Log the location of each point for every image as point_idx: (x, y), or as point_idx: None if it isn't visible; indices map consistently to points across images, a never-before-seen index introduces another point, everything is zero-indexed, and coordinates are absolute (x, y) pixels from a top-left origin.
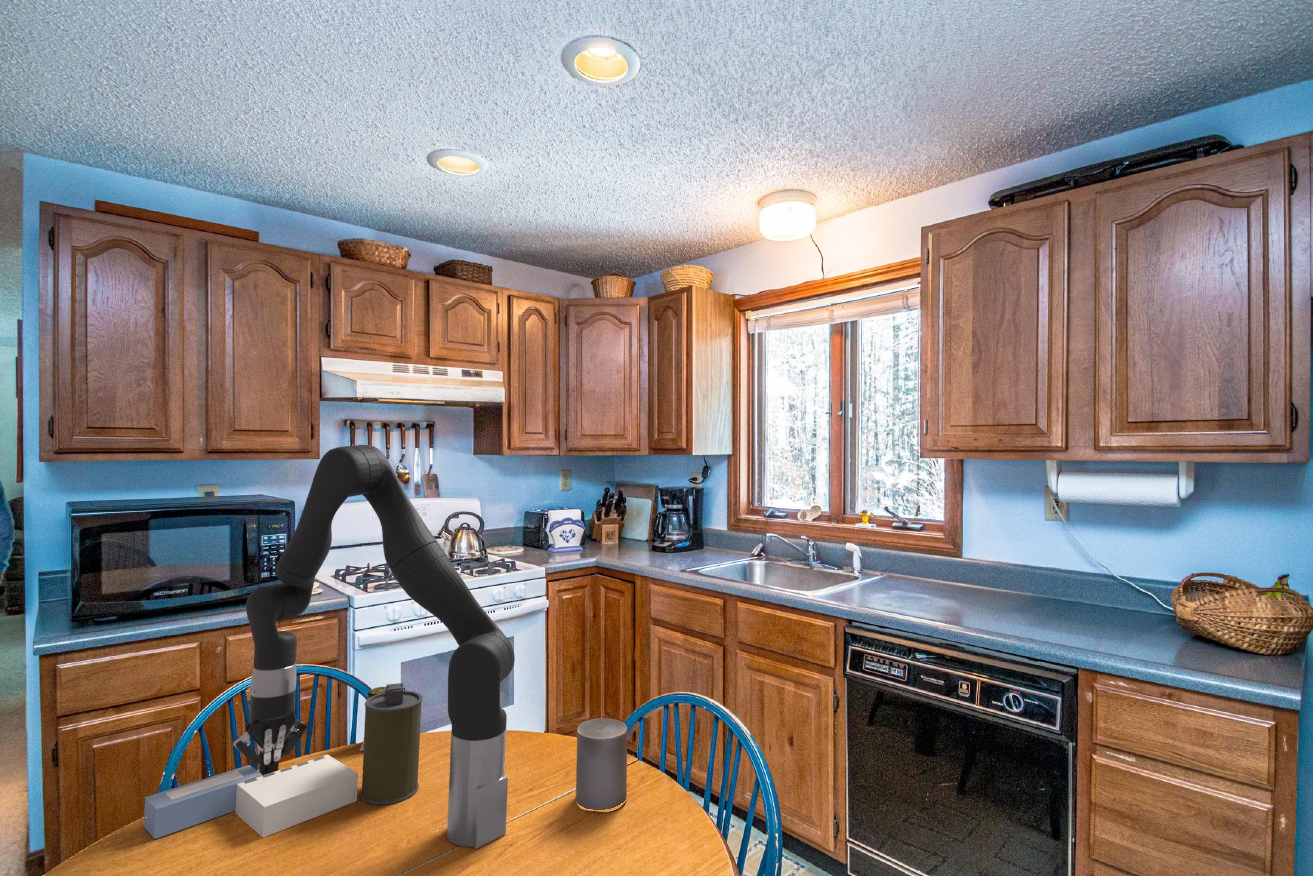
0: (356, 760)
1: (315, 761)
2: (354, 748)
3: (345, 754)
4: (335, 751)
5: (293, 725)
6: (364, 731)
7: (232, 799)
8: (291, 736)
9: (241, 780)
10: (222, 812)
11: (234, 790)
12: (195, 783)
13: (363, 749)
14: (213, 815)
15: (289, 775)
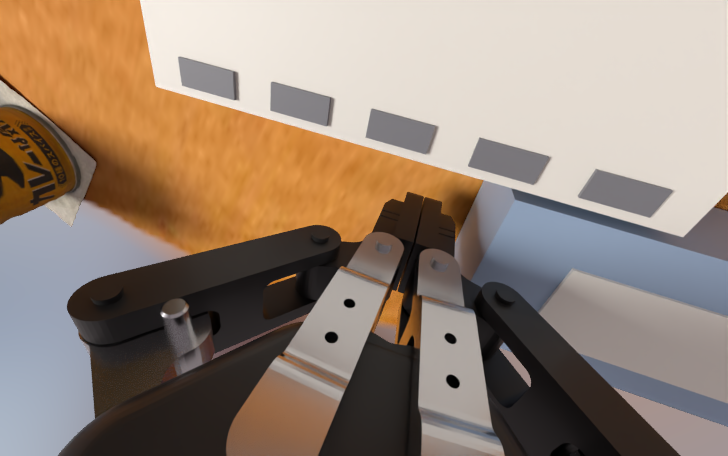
0: (116, 116)
1: (235, 64)
2: (107, 193)
3: (136, 186)
4: (155, 227)
5: (162, 380)
6: (26, 201)
7: None
8: (238, 308)
9: (622, 249)
10: None
11: None
12: (703, 402)
13: (84, 161)
14: None
15: (458, 12)
